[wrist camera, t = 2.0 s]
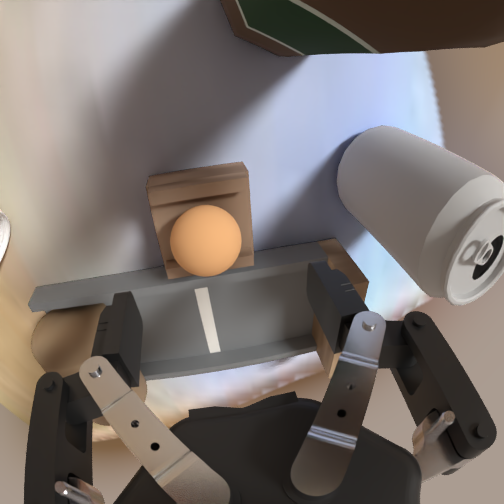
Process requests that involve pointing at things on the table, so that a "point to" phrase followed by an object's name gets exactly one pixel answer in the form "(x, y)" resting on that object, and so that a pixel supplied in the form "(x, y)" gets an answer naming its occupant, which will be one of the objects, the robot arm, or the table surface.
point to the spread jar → (4, 233)
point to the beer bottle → (365, 25)
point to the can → (427, 211)
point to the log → (71, 343)
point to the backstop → (347, 266)
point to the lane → (209, 312)
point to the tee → (201, 193)
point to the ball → (205, 240)
